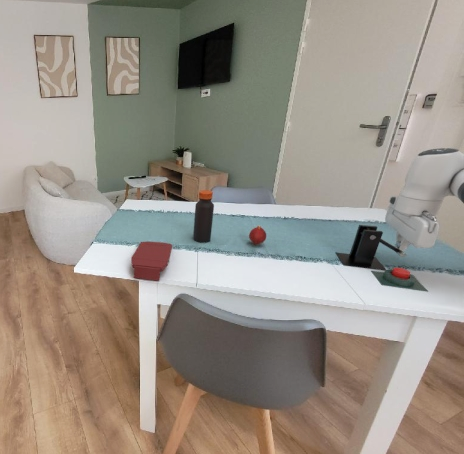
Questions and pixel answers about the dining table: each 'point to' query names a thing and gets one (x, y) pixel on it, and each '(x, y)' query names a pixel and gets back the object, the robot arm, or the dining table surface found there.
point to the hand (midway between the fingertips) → (400, 248)
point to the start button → (400, 273)
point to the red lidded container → (150, 259)
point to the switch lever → (389, 246)
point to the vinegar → (203, 217)
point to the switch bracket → (364, 249)
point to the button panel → (398, 281)
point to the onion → (257, 235)
